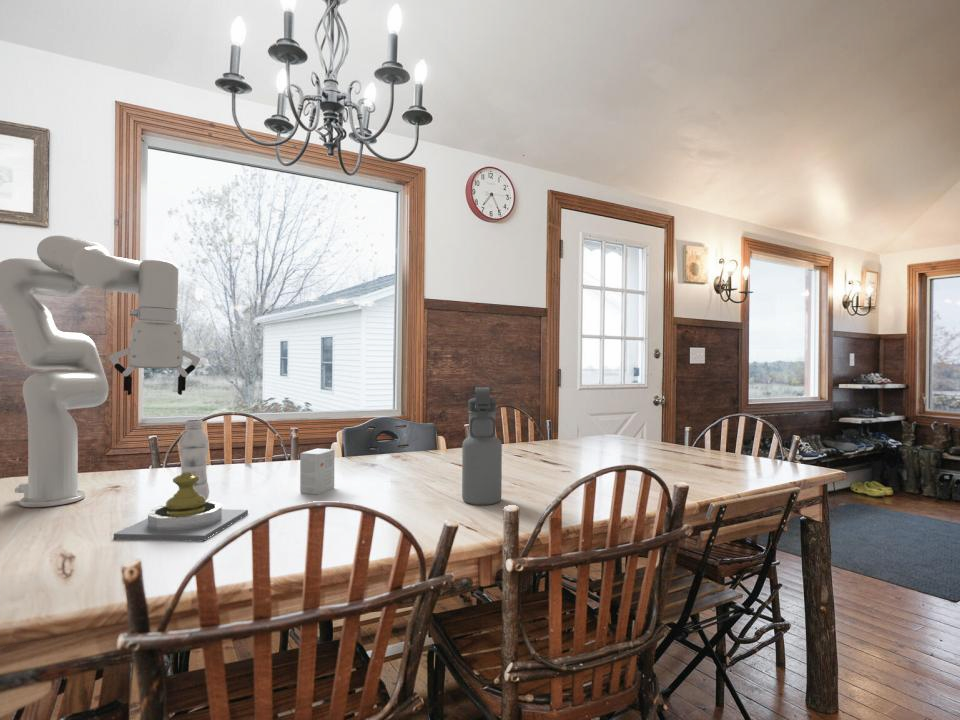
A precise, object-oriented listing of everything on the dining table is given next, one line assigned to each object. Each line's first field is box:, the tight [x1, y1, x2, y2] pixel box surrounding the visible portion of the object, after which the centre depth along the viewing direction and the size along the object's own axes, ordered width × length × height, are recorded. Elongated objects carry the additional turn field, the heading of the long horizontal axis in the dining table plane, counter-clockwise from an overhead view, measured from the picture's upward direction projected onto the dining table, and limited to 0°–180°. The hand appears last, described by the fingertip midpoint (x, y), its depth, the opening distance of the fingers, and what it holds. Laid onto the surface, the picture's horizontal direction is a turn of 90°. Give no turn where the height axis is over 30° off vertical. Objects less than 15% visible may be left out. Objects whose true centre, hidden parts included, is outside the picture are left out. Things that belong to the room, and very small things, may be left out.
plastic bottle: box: [178, 419, 210, 501], centre depth 133 cm, size 6×7×20 cm
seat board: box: [113, 508, 249, 542], centre depth 115 cm, size 18×18×1 cm
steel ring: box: [147, 500, 223, 531], centre depth 115 cm, size 13×13×2 cm
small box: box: [299, 448, 335, 495], centre depth 147 cm, size 8×6×10 cm
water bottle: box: [461, 386, 503, 506], centre depth 137 cm, size 10×10×28 cm
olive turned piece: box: [165, 472, 207, 517], centre depth 116 cm, size 7×7×10 cm
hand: (155, 394), depth 122 cm, fingers open, 9 cm apart
